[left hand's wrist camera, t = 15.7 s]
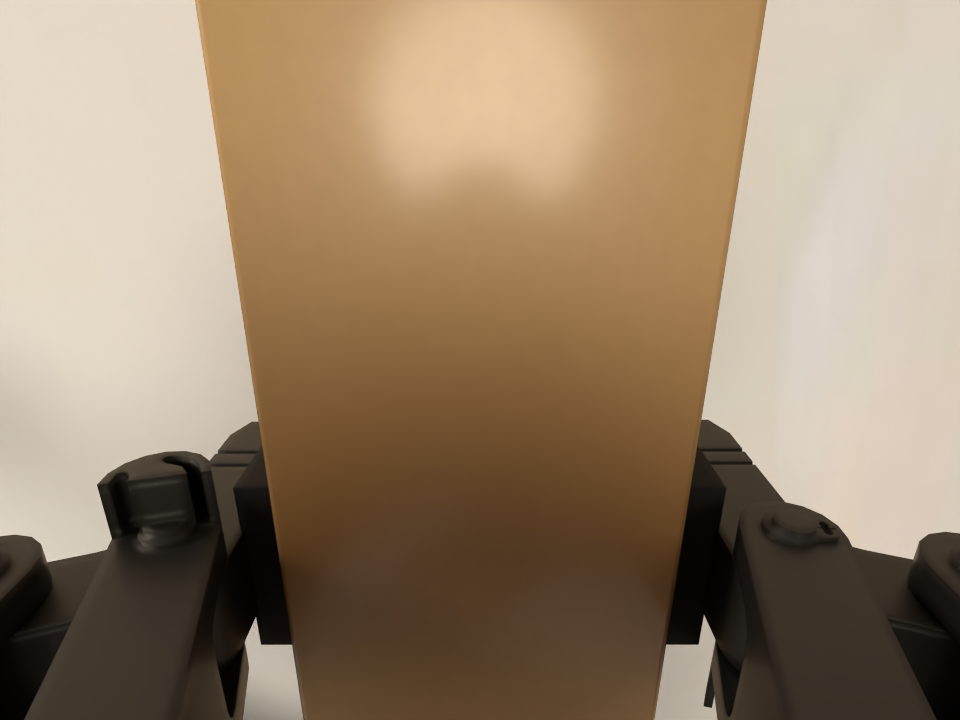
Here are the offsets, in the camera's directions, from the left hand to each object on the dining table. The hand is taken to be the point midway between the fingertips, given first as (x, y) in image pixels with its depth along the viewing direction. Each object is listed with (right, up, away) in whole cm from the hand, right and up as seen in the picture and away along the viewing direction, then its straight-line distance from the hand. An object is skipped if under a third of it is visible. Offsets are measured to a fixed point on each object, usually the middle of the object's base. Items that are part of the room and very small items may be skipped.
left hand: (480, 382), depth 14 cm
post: (0, +28, -10) cm, 30 cm away
